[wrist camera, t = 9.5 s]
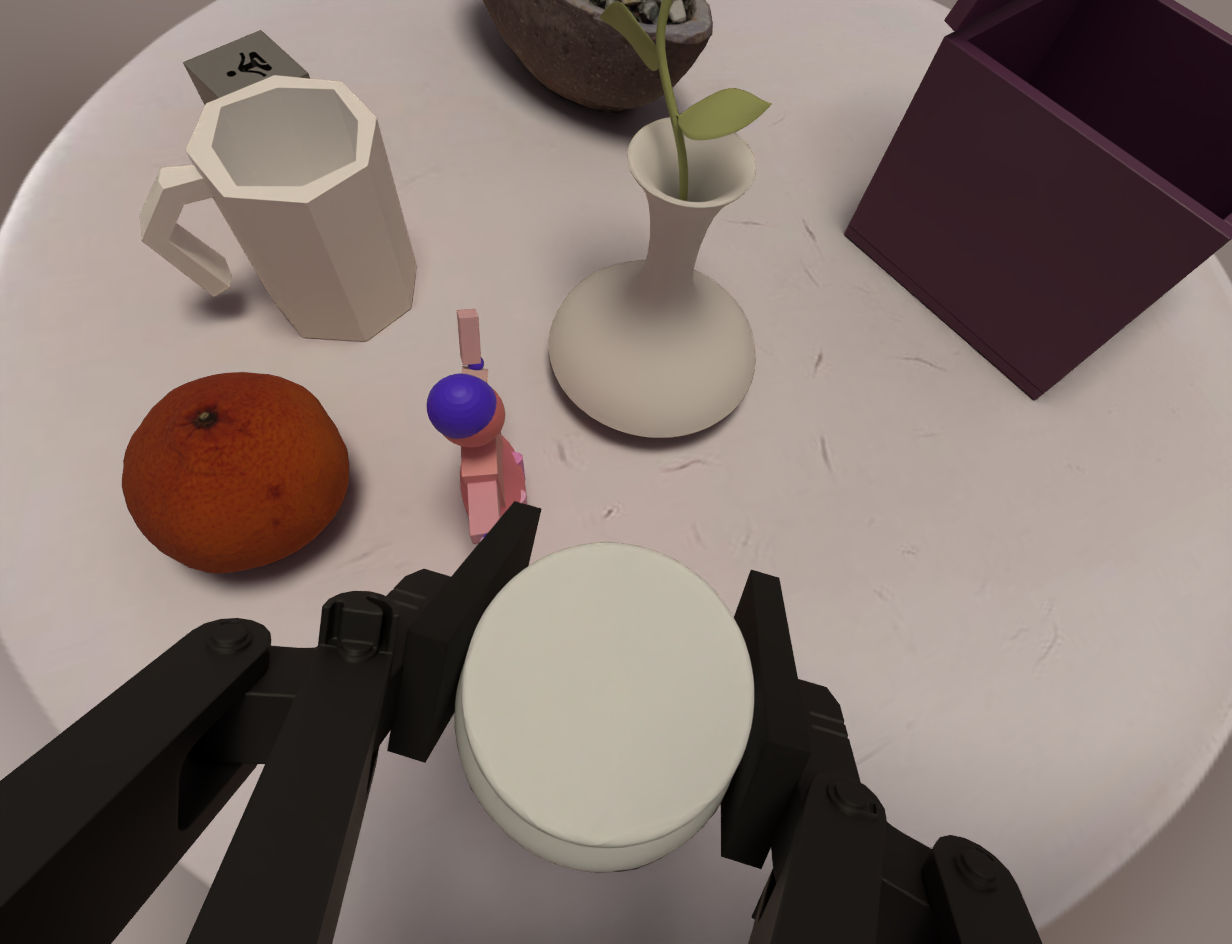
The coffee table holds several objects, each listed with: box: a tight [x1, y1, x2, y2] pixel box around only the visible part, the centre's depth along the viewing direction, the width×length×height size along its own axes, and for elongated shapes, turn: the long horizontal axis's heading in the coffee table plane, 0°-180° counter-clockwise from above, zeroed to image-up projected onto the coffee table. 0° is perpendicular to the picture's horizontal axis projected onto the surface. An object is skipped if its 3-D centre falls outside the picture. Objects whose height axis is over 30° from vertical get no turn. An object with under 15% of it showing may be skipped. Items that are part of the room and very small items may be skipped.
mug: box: [139, 75, 417, 341], centre depth 34 cm, size 12×9×10 cm
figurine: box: [427, 309, 527, 544], centre depth 29 cm, size 3×12×11 cm, turn 12°
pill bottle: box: [455, 542, 754, 873], centre depth 15 cm, size 6×6×10 cm
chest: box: [844, 0, 1232, 400], centre depth 38 cm, size 16×14×13 cm
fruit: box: [122, 372, 349, 573], centre depth 30 cm, size 9×9×8 cm
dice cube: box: [183, 30, 310, 105], centre depth 41 cm, size 5×5×5 cm
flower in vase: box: [549, 0, 772, 438], centre depth 28 cm, size 13×11×25 cm
